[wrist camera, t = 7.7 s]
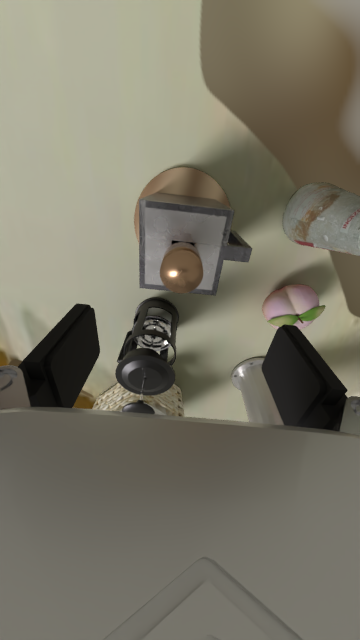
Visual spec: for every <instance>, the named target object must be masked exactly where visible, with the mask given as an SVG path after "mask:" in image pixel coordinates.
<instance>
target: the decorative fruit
mask: <svg viewBox="0 0 360 640" xmlns="http://www.w3.org/2000/svg"><path fill="white" fill-rule="evenodd" d="M324 309H325V305H323V306H319V300H318V297H317V295H316V293H315V291H314V290H313V289H312V288H311V287H309V286H307V285H302V284H295V285H288V286H285V287H283V288H282V289H280V290H275V291H273V292H272V293H271V294H270V295H269V296H268V297H267V298H266V299H265V301H264V303H263V306H262V311H263V314H264V316H265V318H266V319H267V321H268V322H269V323H270V324H271V325H272V326H273V327H274V328H275V329H278V328H279V327H281V326H282V325H284V324H286V325H295V326H297V327H298V328H299V330H300V329H303V328H305V327H307V326H308V325H309V324H311V323H312V322H313V321H314V319H316V318H317V317H318V316H319V315H320V314H321V313H322V312H323V311H324Z"/></svg>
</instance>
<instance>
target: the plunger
mask: <svg viewBox="0 0 360 640" xmlns="http://www.w3.org/2000/svg"><path fill="white" fill-rule="evenodd" d="M160 278H161V281H162V283H163V284H164V285H165V287H167V288H168V289H169V290H171V291H173V292H176V293H188V292H191V291H193V290H194V289H196V288H197V287H198V286H199V284H200V283H201V281H202V279H203V266H202V261H201V257H200V254H199V252H198V250H197V249H196V248H195V247H194V243H192V242H183V241H174V240H172V245H171V246H170V247H169V248H168V249H167V250H166V251H165V253H164V256H163V260H162V263H161V267H160Z"/></svg>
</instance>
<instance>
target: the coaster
mask: <svg viewBox="0 0 360 640" xmlns="http://www.w3.org/2000/svg"><path fill="white" fill-rule="evenodd" d="M156 192H159V193H168V194H176V195H184V196H193V197H201V198H210V199H215V200H217V201H219V202H221V203H222V204H224V205H226V206H227V207H229V208H230V205H229V202H228V199H227V197H226V195H225V193H224V191H223V189H222V188H221V187H220V185H219V184H218V183H217V182H216V181H215V180H214V179H213V178H212V177H210V176H209V175H208V174H206V173H204V172H202V171H200V170H197V169H193V168H186V167H180V168H173V169H170V170H167V171H164V172H162V173H160V174H159V175H157V176H156V177H154V178H153V179H152V180H151V181H150V182H149V183H148V184H147V186H146V187H145V188H144V190H143V191H142V193H141V195H140V197H139V199H141V198H144V197H146V196H149V195H151V194H153V193H156ZM139 199H138V202H137V205H136V209H135V216H134V224H135V232H136V236H137V239H138V242H139ZM230 230H231V228H230Z"/></svg>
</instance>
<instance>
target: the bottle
mask: <svg viewBox="0 0 360 640" xmlns="http://www.w3.org/2000/svg"><path fill="white" fill-rule="evenodd" d="M283 229H284V232H285V234H286V235H287V237H288V238H289V239H290V240H292V241H293V242H295V243H297V244H300V245H306V246H311V247H316V248H322V249H327V250H333V251H338V252H343V253H348V254H353V255H359V256H360V196H358V195H355V194H354V193H350V192H348V191H346V190H343V189H341V188H339V187H337V186H335V185H332V184H329V183H323V182H322V183H311V184H307V185H305V186H303V187H301V188H300V189H299V190H298V191H297V192H296V193H295V194H294V195H293V196H292V198H291V199H290V201H289V203H288V205H287V207H286V209H285V212H284V215H283Z"/></svg>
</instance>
